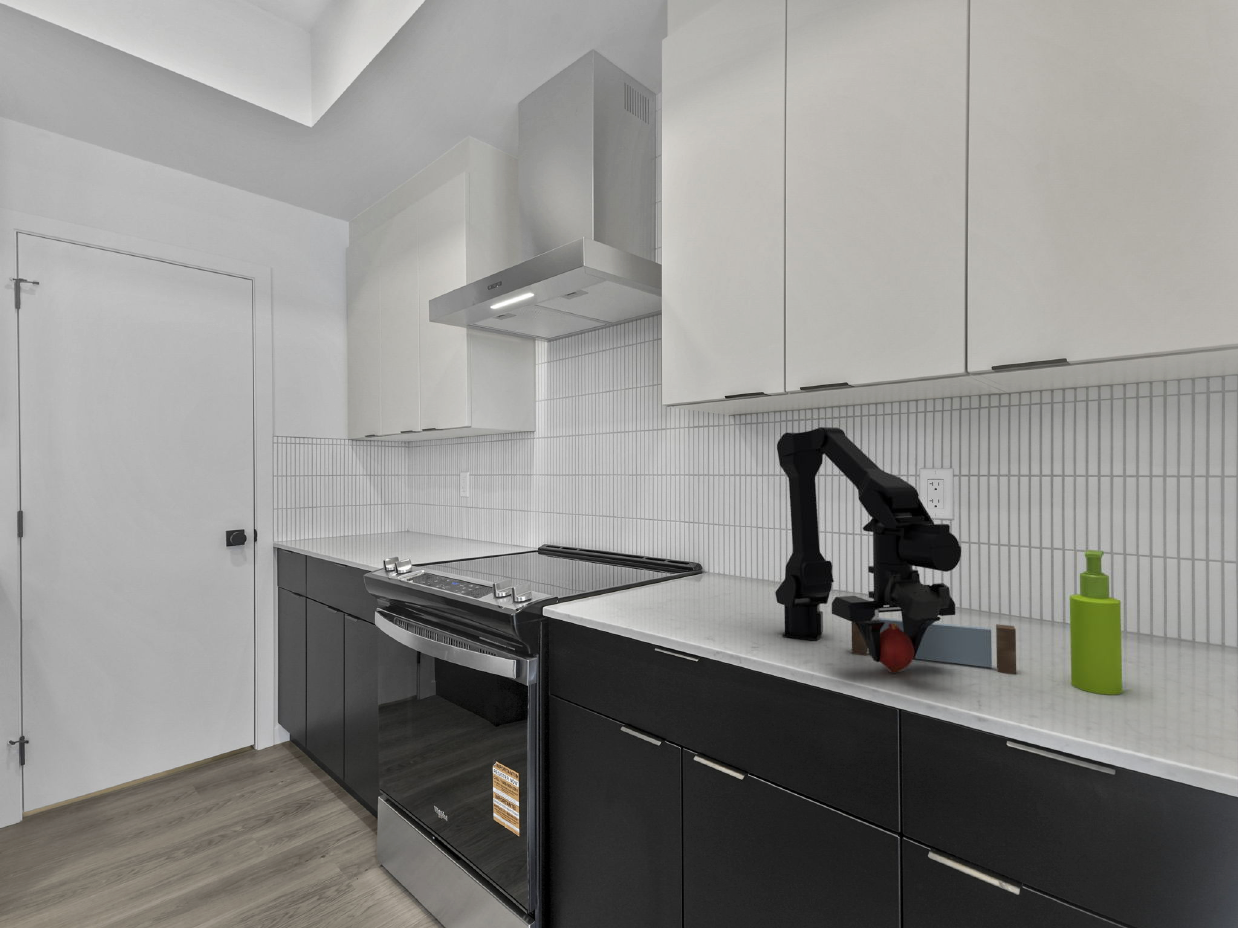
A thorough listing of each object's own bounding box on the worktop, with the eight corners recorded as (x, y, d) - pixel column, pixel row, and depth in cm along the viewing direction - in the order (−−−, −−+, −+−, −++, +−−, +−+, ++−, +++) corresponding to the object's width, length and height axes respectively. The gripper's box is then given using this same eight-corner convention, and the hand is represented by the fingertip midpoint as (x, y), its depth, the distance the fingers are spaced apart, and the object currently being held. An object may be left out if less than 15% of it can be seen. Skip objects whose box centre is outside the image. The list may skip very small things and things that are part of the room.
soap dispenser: (1123, 684, 90) (1120, 550, 90) (1121, 698, 84) (1118, 555, 85) (1074, 675, 93) (1071, 547, 94) (1069, 688, 88) (1066, 552, 88)
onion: (880, 664, 100) (880, 616, 100) (918, 671, 96) (917, 621, 96) (869, 673, 95) (869, 623, 95) (909, 681, 92) (908, 629, 92)
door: (868, 652, 105) (867, 615, 105) (868, 650, 106) (868, 614, 106) (991, 667, 97) (991, 627, 97) (991, 664, 98) (990, 625, 98)
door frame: (851, 654, 105) (851, 614, 106) (853, 649, 108) (852, 610, 108) (1016, 673, 94) (1015, 629, 95) (1013, 668, 97) (1013, 625, 97)
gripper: (872, 573, 86) (873, 682, 86) (982, 567, 90) (984, 671, 90) (829, 561, 97) (830, 658, 97) (929, 556, 101) (930, 649, 101)
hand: (893, 659), depth 96 cm, fingers closed on onion, 6 cm apart
